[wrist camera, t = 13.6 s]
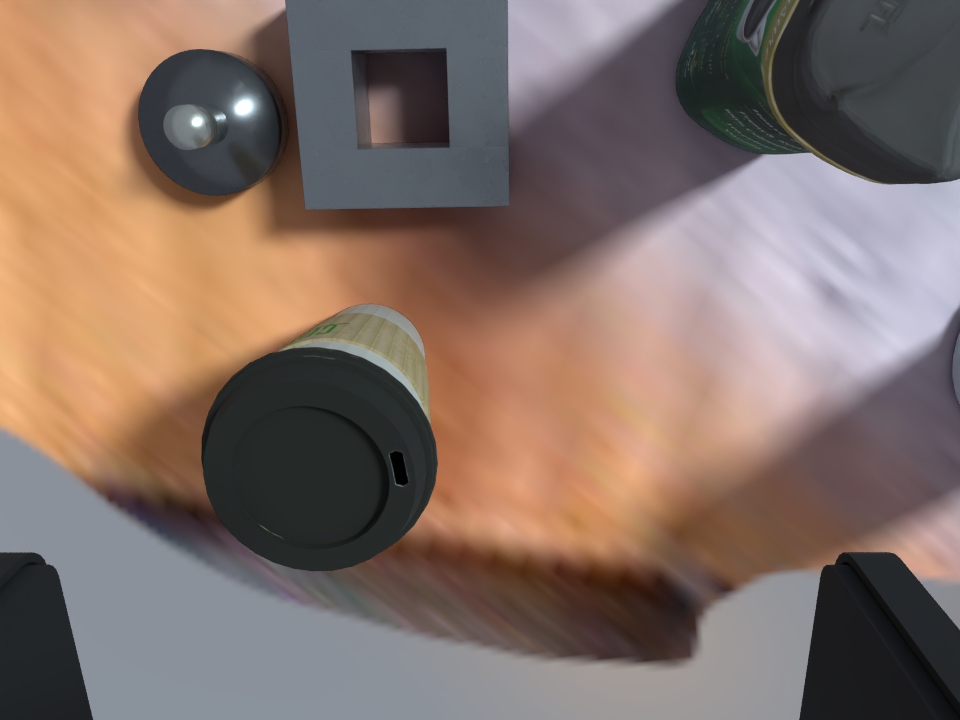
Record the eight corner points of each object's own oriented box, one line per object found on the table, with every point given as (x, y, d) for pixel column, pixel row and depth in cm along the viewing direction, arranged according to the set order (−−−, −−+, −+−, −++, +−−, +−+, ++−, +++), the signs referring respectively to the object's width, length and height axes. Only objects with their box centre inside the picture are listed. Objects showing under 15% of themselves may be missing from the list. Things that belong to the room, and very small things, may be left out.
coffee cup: (268, 285, 44) (154, 382, 29) (440, 259, 43) (408, 346, 29) (308, 442, 47) (223, 598, 33) (469, 421, 46) (452, 571, 32)
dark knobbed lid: (280, 49, 39) (250, 44, 35) (294, 189, 42) (267, 202, 37) (145, 52, 40) (96, 48, 35) (166, 191, 42) (123, 205, 37)
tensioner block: (507, -12, 38) (507, -22, 34) (509, 195, 41) (509, 206, 38) (305, -6, 39) (283, -16, 35) (323, 198, 42) (305, 209, 38)
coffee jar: (775, 174, 41) (978, 242, 23) (648, 97, 40) (760, 107, 22) (895, -4, 38) (1231, -80, 20) (760, -93, 37) (993, -254, 19)
